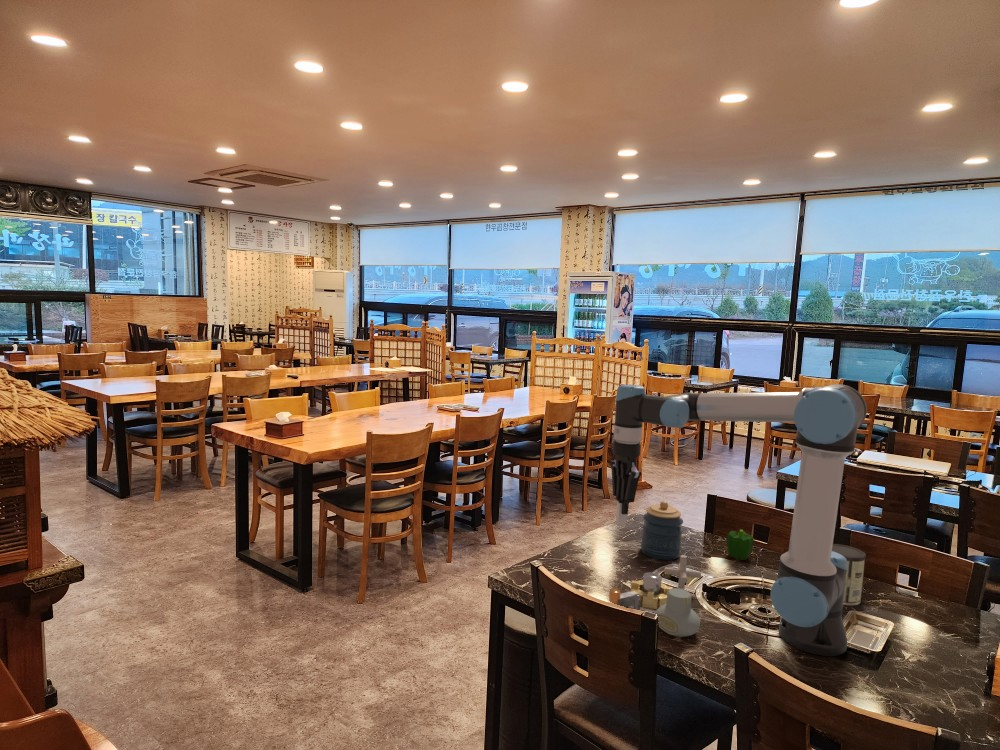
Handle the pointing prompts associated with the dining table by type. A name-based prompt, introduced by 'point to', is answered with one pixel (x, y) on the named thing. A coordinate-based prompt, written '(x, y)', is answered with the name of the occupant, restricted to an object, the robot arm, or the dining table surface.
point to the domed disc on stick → (646, 599)
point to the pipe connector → (682, 572)
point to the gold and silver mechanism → (649, 583)
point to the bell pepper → (739, 544)
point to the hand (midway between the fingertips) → (621, 524)
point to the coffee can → (852, 573)
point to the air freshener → (678, 614)
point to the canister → (662, 532)
